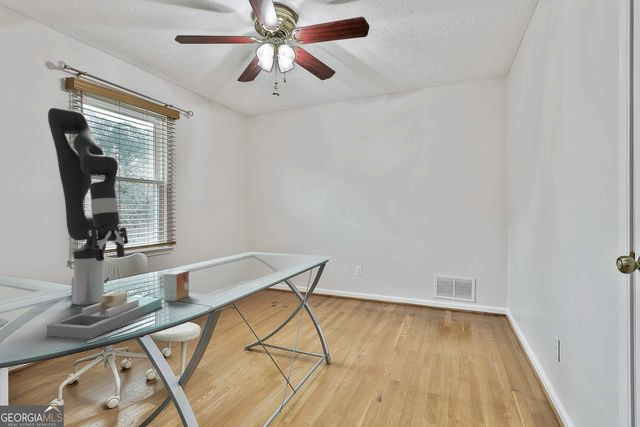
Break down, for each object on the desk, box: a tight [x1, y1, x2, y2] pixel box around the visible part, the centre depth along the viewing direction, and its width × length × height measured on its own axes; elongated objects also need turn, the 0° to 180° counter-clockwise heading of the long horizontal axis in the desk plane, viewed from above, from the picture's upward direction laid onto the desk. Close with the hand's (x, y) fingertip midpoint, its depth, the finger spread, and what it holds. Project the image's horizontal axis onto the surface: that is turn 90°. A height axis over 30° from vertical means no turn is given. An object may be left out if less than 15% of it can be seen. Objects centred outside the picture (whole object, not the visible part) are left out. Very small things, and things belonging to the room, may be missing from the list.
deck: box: [46, 296, 163, 340], centre depth 98 cm, size 14×29×5 cm, turn 171°
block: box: [100, 290, 128, 311], centre depth 99 cm, size 5×5×5 cm
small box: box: [163, 269, 190, 302], centre depth 122 cm, size 8×6×10 cm
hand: (111, 258), depth 105 cm, fingers open, 8 cm apart
